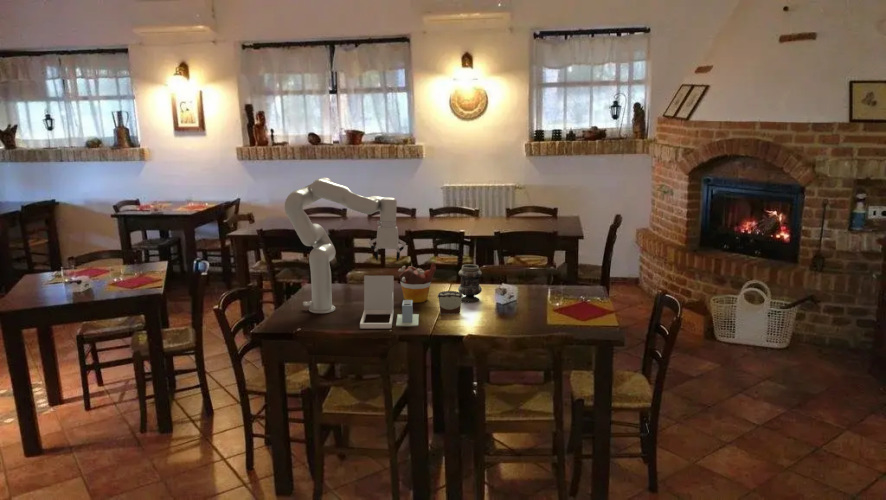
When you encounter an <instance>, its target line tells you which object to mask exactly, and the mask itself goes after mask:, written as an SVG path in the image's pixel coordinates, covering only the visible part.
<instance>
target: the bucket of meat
mask: <svg viewBox="0 0 886 500" xmlns="http://www.w3.org/2000/svg"><path fill="white" fill-rule="evenodd" d="M397 271H398V272H400V274H399V275H398V278H399V280H400V281H399V282H400V287H401V291H402V295H403V300H413V304H420V303H425V302H426V301H427V300H428V297H429V292H430V287H431V283H432V279H433V277H434V274H435V272H436V271H437V266H436V263H435V262H432V263H431V265H430V269H426V270H425V271H424V270H421V269H420V268H416V267H414V266H411V265H409V266H408V267H407V269H406V265H403V266H401V268H399V269H398V270H397Z"/></svg>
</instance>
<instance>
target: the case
mask: <svg viewBox="0 0 886 500" xmlns="http://www.w3.org/2000/svg"><path fill="white" fill-rule="evenodd" d="M363 277H364V278H363V286H364V287H363V290H364V291H363V292H364V293H363V295H364V296H363V306H364V307H363V313H362V315H361V319H360V322H359V329H392V326H393V319H394V309H395V308H394V307H395V306H394V303H395V301H394V300H395V299H394V298H395V297H394V296H395V295H394V291H395V289H394V288H395V287H394V283H395V282H394V281H395V278H394V275H364V276H363ZM367 315H390V316H389V317H390V318H389V322H365V320H366V317H367Z"/></svg>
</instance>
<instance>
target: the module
mask: <svg viewBox="0 0 886 500" xmlns="http://www.w3.org/2000/svg"><path fill="white" fill-rule="evenodd" d="M413 304H414V303H413V300H405V299H403V300H402V304H401V312H402V313H401V314H402V322H412V319H413V314H414V309H413V307H414V306H413Z"/></svg>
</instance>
